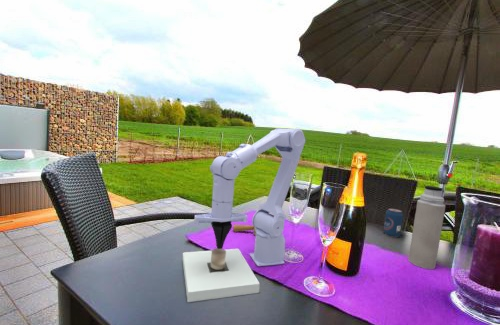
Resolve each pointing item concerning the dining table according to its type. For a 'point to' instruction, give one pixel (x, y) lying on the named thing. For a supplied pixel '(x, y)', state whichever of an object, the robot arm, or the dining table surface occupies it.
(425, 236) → the thermos bottle
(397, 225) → the soda can
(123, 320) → the dining table surface
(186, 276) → the hole board
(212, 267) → the birch peg
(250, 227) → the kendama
